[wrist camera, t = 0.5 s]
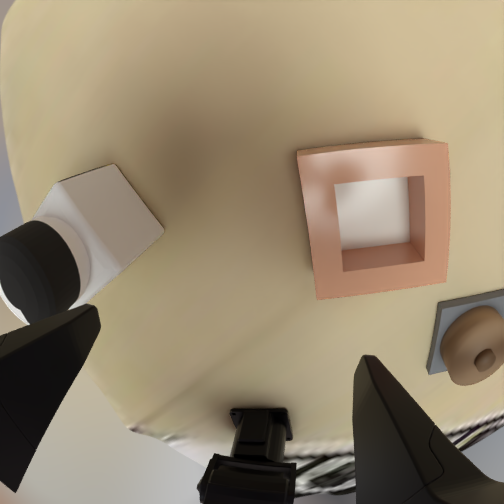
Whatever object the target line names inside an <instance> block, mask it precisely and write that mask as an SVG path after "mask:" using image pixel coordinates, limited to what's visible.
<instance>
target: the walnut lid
mask: <svg viewBox="0 0 504 504" xmlns="http://www.w3.org/2000/svg"><path fill="white" fill-rule="evenodd" d="M440 354H441V357H442V359H443V361H444V364H445V366H446V368H447V371H448V373H449V375H450V378H451V380H452V381H453V382H454V383H455V384H458V385H462V386H466V385H472V384H475V383H478V382H480V381H482V380H484V379H486V378H487V377H489V376H490V375H492V374H493V373H494V372H495V371H496V370H498V369H499V368H500V366H501V365H502V364H503V363H504V319H503V318H502V316H501V315H500V314H499V312H498V311H497V310H496V309H495V308H493V307H491V306H487V305H483V306H478V307H474V308H472V309H470V310H468V311H466V312H465V313H463V314H462V315H460V316H459V317H458V318H457V319H456V320H455V321H454V322H453V323H452V324H451V325H450V326H449V328H448V329H447V331H446V332H445V334H444V336H443V338H442V341H441V344H440Z"/></svg>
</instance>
